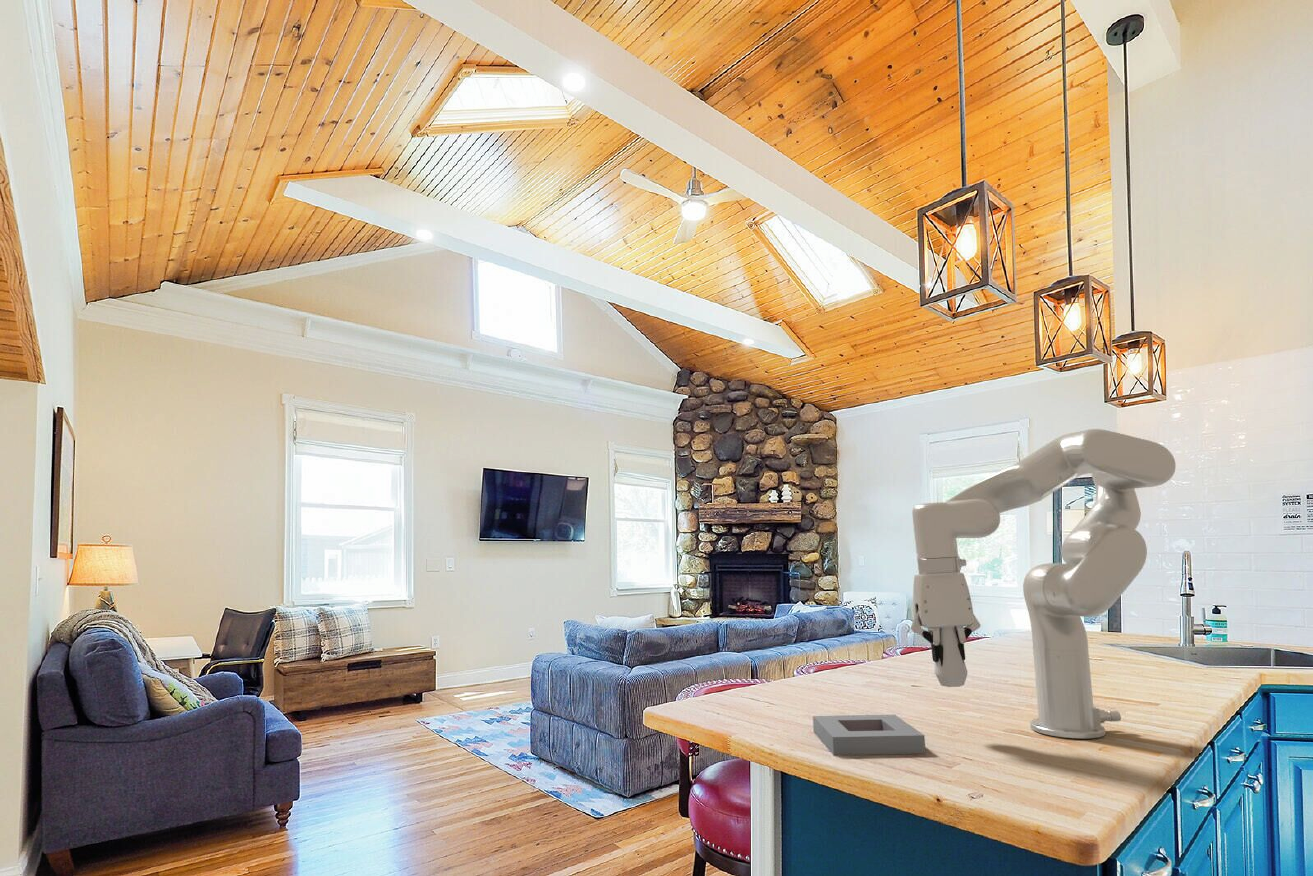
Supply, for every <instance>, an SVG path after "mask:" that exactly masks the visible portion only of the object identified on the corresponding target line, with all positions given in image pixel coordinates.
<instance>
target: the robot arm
mask: <svg viewBox="0 0 1313 876" xmlns="http://www.w3.org/2000/svg"><path fill="white" fill-rule="evenodd" d="M1176 466H1177V464H1176V459H1175V458H1174V455H1173V453H1172V452H1171V451H1170V450H1169V449H1168V448H1167V447H1166V446H1165V445H1162V444H1160V443H1158V442H1156V441H1152V440H1148V439H1144V438H1141V437H1135V436H1131V435H1128V434H1124V433H1121V432H1116V431H1111V430H1107V429H1101V428H1091V429H1086V430H1085V429H1084V430H1080V431H1076V432H1071V433H1067V434H1063V435H1060V436H1059V437H1056V438H1055V439H1053V440H1052V441H1050V442H1049V443H1046V444H1045V445H1043V446H1042V447H1039V448H1038V449H1037V450H1035V451H1034V452H1032V453H1030V454H1028V455H1027V456H1026V457H1024V458H1023V459H1021V460H1019V461H1017V462H1016V463H1014V464H1013V465H1011V466H1009V467H1007V468H1005V469H1002V470H999V471H998V472H997V473H995V474H993V475H991V476H989V477H987V478H985V479H982V480H981V481H979V482H977V483H975V484H973V485H971V486H969V487H968V488H965V489H964V490H963V491H960V492H959V493H957V494H956V495H954V496H952V497H951V498H950V499H947V500H946V501H945V502H943V501H942V502H927V503H926V502H925V503H919V504H916V505H915V506H913V508H912V513H911V514H912V522H913V531H914V532H913V533H914V543H915V551H916V559H917V561H916V562H917V568H918V570H917V571H918V574H915V575H914V577H913V586H912V587H913V592H912V593H913V595H912V596H913V597H912V599H913V600H912V602H913V603H912V605H913V621H912V624H911V626H910V631H911V632H912V633H914V634H917V635H920V636H921V637H923V638H924V639H925V640H926V641H927V642H928V643H929V644H930V648H931V654H932V655H931V656H932V657H931V658H932V661H933V662H934V663H935V662H938V661H939V658H940V662H941V667H942V665H943V646H942V645H940V636H939V628H943V627H946V626H947V625H953V626H954V627H955V631H956V635H957V638H958V642H959V644H958V648H959V651H960V655H961V657H962V660H963V663H964V662H965V661H966V651H965V644H966V642H967V640H968V638H969V637H970V635H972V633H973V632H975V631H977V630H979V629H980V628H981V623H980V622H979V620H978V618H977V617H976V615H975V614H974V610H973V603H972V598H971V593H970V590H969V586H968V582H967V578H966V576H965V573H964V572H961V570H962V567H966V566H967V560H966V559H965V558H964V559H963V558H962V559H961V558H960V556H959V551H958V543H957V542H958V541H957V539H982V538H983V539H984V538H986V537H989V536H991V535H993V534H994V533H995V532H996V531H997V530H998V528H999V527H1000V523H1001V515H1000V514H1002V513H1005V512H1008V511H1012V510H1016V509H1020V508H1024V507H1028V506H1030V505H1033V504H1035V503H1038V502H1041V501H1042V500H1044V499H1045V498H1047V497H1049V496H1050V495H1051V494H1054V493H1055V492H1056V491H1057V490H1060V488H1063V487H1064V486H1065V485H1067V484H1069V483H1070V482H1072V481H1073V480H1075V479H1077V478H1078V477H1080V476H1083V475H1087V474H1091V476H1092V477H1091V478H1092V481H1093V485H1094V489H1095V500H1094V503H1093V505H1092V507H1090V509H1089V511H1088V512H1087V513H1086V514H1085V515H1084V516H1083V517H1082V519H1081V520H1080V521H1079V522H1078V523H1077V525H1076V526H1075V527H1074V528H1073V529H1072V530H1071V531H1070V533H1069V534H1068V535H1067V536H1066V537H1065V538H1064V540H1063V543H1062V545H1061V548H1060V550H1061V551H1060V553H1061V554H1060V555H1061V557H1062V560H1063V562H1064V563H1056V562H1055V563H1054V562H1051V563H1050V562H1049V563H1043V564H1042V563H1041V564H1038V565H1036V566H1034V567H1032V568H1031V569H1030V570H1028V572H1027V574H1026V575H1025V577H1024V580H1023V584H1022V590H1023V591H1022V592H1023V596H1024V602H1025V604H1026V608H1027V609H1026V610H1027V613H1028V616H1029V621H1030V627H1031V628H1030V629H1031V640H1032V651H1033V652H1032V653H1033V654H1032V655H1033V664H1034V666H1033V667H1034V676H1035V688H1036V689H1035V690H1036V703H1037V712H1038V715H1037V716H1038V717H1037V718H1034V719H1032V720H1030V723H1029V724H1030V728H1031V729H1032V730H1033V731H1034V732H1037V733H1039V734H1043V735H1046V736H1051V737H1057V738H1066V739H1083V740H1084V739H1097V738H1102V737H1103V736H1105V735H1106V728H1105V726H1103V725H1102V724H1104V723H1105V722H1109V723H1110V722H1121V719H1122V716H1121V713H1120V711H1118V710H1107V711H1105V709H1100V708H1098V707H1096V706H1094V698H1093V697H1094V696H1093V688H1092V687H1093V686H1092V677H1091V666H1090V665H1091V664H1090V654H1089V643H1088V642H1089V640H1088V634H1087V631H1086V627H1085V625H1084V622H1083V620H1082V618H1081V617H1083V618H1084V617H1085V618H1086V617H1087V618H1092V617H1098V616H1100V615H1103V614H1104V613H1105V612H1107V611H1108V610H1109V609H1111V607H1112V606H1113V605H1114V604H1115V603H1116V602H1117V600H1118V599H1119V598H1120V597H1121V596H1122V595H1123V594H1124V592H1125V591H1127V588H1129V587H1130V585H1131V584H1132V583H1133V581H1134V580H1135V579H1136V578H1137V576H1138V575H1139V574H1140V573H1141V571H1142V569H1143V568H1144V566H1145V563H1146V560H1147V555H1148V547H1147V544H1146V541H1145V539H1144V537H1143V536H1142V534H1141V533H1140V532H1139V531H1138V530H1136V529H1137V527H1138V526H1139V523H1140V521H1141V516H1142V513H1141V507H1140V504H1139V501H1138V495H1137V493H1136V490H1135V489H1142V488H1153V487H1157V486H1158V487H1159V486H1161V485H1162V486H1163V485H1164V484H1166V483H1167V482H1169V481H1170V480H1171V479H1172V477H1173V476H1174V474H1175V472H1176ZM922 627H923V628H926V629H927V630H925V629H923V628H922ZM963 658H964V659H963Z"/></svg>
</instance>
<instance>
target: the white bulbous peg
mask: <svg viewBox="0 0 1313 876" xmlns="http://www.w3.org/2000/svg"><path fill="white" fill-rule="evenodd" d="M939 636H940V645H942V646H943V665H942V667H941V662H940V658H939V661H938V662H934V674H935V676H936V678H937V680H938V682H939V684H940V685H941V687H946V688H959V687H962V686H965V683H966V680H967V677H968V669H967V667H966V666H967V665H966V662H965V661H964V663H963V660H962V657H961V655H960V651H959V648H958V644H959V642H958V638H957V635H956V631H955V627H954V626H953V625H947V626H946V627H943V628H939ZM963 659H964V658H963Z"/></svg>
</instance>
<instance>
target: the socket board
mask: <svg viewBox="0 0 1313 876" xmlns="http://www.w3.org/2000/svg"><path fill="white" fill-rule="evenodd" d="M812 721H813V723H812V724H813V725H812V727H813V729H812V730H813V733H814V734H815V735H816V737H817V738H818V739H819V740H820V742H821V743H822V744H823V745H824V746H825V747H826V748H827V749H828V750H829V752H830V753H831V754H832V755H833V756H855V755H856V756H857V755H858V756H860V755H904V754H905V755H908V754H909V755H912V754H913V755H914V754H915V755H917V754H919V755H920V754H926V739H925V737H926V736H925V735H924V734H923V733H922V732H921V731H919V730H918V729H916V728H914V727H913V726H912V725H911V724H909V723H908V722H906V721H905V720H903V719H902V718H901V717H899V716H898V715H896V714H859V715H858V714H855V715H854V714H853V715H847V714H846V715H812Z"/></svg>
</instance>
